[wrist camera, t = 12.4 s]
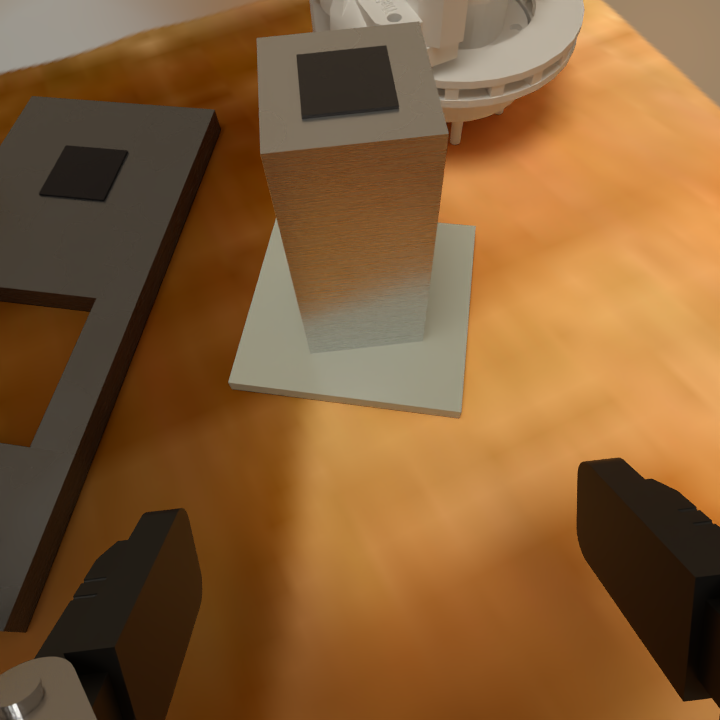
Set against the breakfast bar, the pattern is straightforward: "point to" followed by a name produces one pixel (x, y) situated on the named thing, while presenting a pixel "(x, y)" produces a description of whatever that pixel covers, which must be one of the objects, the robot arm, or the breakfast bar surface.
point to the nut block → (354, 177)
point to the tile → (363, 365)
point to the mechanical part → (474, 45)
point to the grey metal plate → (84, 289)
